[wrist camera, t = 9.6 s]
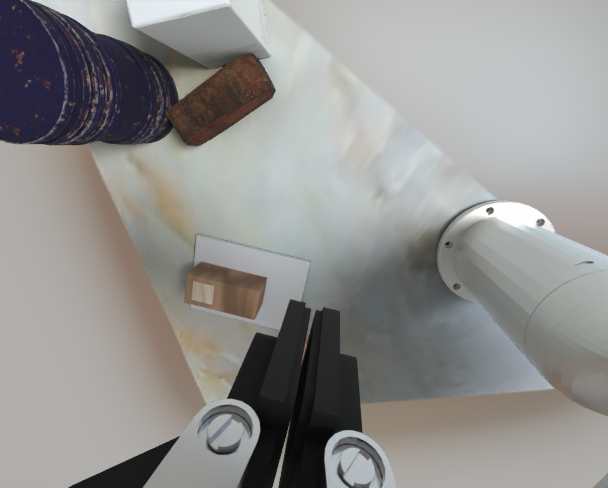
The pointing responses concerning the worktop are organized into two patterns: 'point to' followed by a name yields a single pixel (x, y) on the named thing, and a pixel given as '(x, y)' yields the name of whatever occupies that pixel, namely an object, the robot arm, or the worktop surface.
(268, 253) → the mat
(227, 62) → the supplement box
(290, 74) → the worktop surface
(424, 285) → the worktop surface
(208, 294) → the brown cardboard box
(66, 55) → the dark blue ribbed cylinder
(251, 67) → the brick
